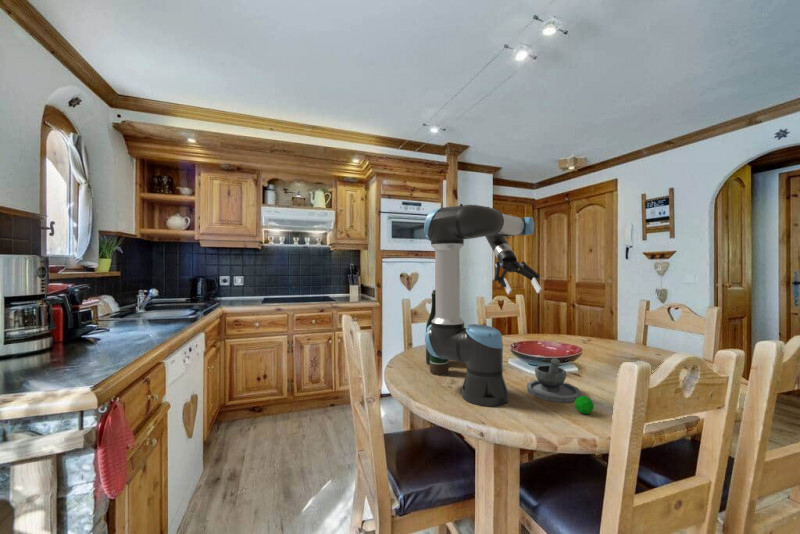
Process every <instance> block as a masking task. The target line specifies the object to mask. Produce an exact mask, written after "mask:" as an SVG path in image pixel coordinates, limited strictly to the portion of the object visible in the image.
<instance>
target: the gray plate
mask: <svg viewBox="0 0 800 534" xmlns="http://www.w3.org/2000/svg"><path fill="white" fill-rule="evenodd" d="M526 388H527V389H526V391H527V393H528V394H530V395H532V396H533V397H535V398H538V399H541V400H544V401H547V402H555V403H572V402H574V403H575V400H576V399H577V397H580V396H582V392H581V390H580V389H579V388H578V387H576V386H574V385H573V384H570V383H568V382H565V381H564V382H563V384H562V385H560V391H559V392H555V393H552V392H546V391H544V390H542V389H541V383H540V382H539V381H538V379H534V380H531V381H529V382H527V383H526Z"/></svg>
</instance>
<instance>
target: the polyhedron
mask: <svg viewBox="0 0 800 534" xmlns="http://www.w3.org/2000/svg"><path fill="white" fill-rule="evenodd" d="M574 407H575V409H576V410H577V412H579V413H580V414H582V415H588V414H591V413H592V412H593V411H594V408H595V405H594V402H593V401H592V399H591V398H590V397H588V396H585V395H581V396H580V397H577V399H576V400H575V401H574Z"/></svg>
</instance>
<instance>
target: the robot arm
mask: <svg viewBox="0 0 800 534" xmlns="http://www.w3.org/2000/svg"><path fill="white" fill-rule="evenodd" d="M423 228H424V229H423V230H424V235H425V237H426V240H428V241H429V242H430V246H431V247H432V248H433V249H434V253H435V254H434V258H435V263H434V264H435V265H434V266H435V267H434V268H435V274H434V275H435V276H434V277H435V284H434V285H435V290H436V316H435V318H434V319H433V320H432V324H431V325H429V326H428V328H427V330H426V329H425V333H424V342H425V344H424V345H425V347H426V348H427V350H428V352H429V353H430V354H431V355H432V356H434V357H438V358H441V359H448V360H449V361H454V362H459V363H460V362H461V363H466V375H465V378H464V381H463V384H462V387H461V397H462V399H464V400H465V401H466V402H469V403H471V404H473V405H478V406H482V407H483V406H484V407H485V406H486V407H494V406H501V405H505V404H506V403H507V402H509V390H508V387H507V383H506V381H505V377H504V375H503V369H504V365H503V362H504V361H503V359H504V356H503V353H504V352H503V351H504V350H503V349H504V343H503V335H502V333H501V331H500V330H499V329H497V328H495V327H493V326H490V325H485V324H475V323H471V324H468V325H467V326H466V327H465V321H464V320H463V318H461V316H460V315H461V312H460V310H461V309H460V308H461V306H460V305H461V304H460V303H461V301H460V298H461V295H460V292H461V289H460V287H461V286H460V284H461V283H460V280H461V279H460V276H461V275H460V251H461V249H462V247H463V246H464V245H465V243H464V241H465V240H471V239H478V238H483V237H485V238H486V241H487V242H488V244H489V245H490V248H491V249H492V251H493V253H494V256H495V257H496V260H497V261H496V263H495V265H494V268H495V273H494V278H493V280H494V281H495V282H497V283H498V284H500V286H501V287H502V288H503V289H504V290H505V292H506V294H507V295H510V294H511V292H512V291H513V289H512V288H511V286H510V284H509V282H508V280H507V278H505V276H506V274H507V273H516V274H518V275H519V274H520V275H522V276H523V277H525V278H527V279H528V280H530V283H531V285H532V286H533V289H534V290H535V292H536V293H537V294H540V292H541V291H542V290H543V288H542V287H541V285H540V282H539V278H540V274H539V273H537V272H536V271H535V270H533V269H532V268H531V267H530V266H529V265H528V264H527V263H526V262H525V261H522V262H519V261H518V260H517V256H516V254H515V253H514V251H513V249H512V247H511V246H510V244H509V243H508V241H507V238H506V237H514V236H515V237H517V236H518V237H519V236H530V235H533V233H534V231H535V222H534V218H533V217H531V216H524V217H517V216H514V215H509V214H505V213H502V212H501V211H500V210H498V209H497V208H493V207H488V206H485V205H478V204H464V205H456V206H446V207H440V208H436V209H432V210H431V211H430V212H429V213H428V214H427V216H426V217H425V220H424V226H423ZM501 268H502V269H504V270H503V271H502V273H500V272H501ZM500 274H501V276H500ZM426 331H427V332H426Z"/></svg>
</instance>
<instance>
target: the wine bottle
mask: <svg viewBox="0 0 800 534" xmlns="http://www.w3.org/2000/svg"><path fill="white" fill-rule="evenodd" d="M435 314H436V289H432V292H431V307H430V313H429V315H428V316H429V317H428V319H427V322H426V327H425V333H426V332H427V331H426V330H427V328H428V326H429V325H431V324H432V320H433V319H434V318H435V317H434V315H435ZM424 352H425V353H424V354H425V355H424V356H425V363H426V364H427V365H428V366H430V353H429V352H428V350H427V348H426V346H425V351H424Z"/></svg>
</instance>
